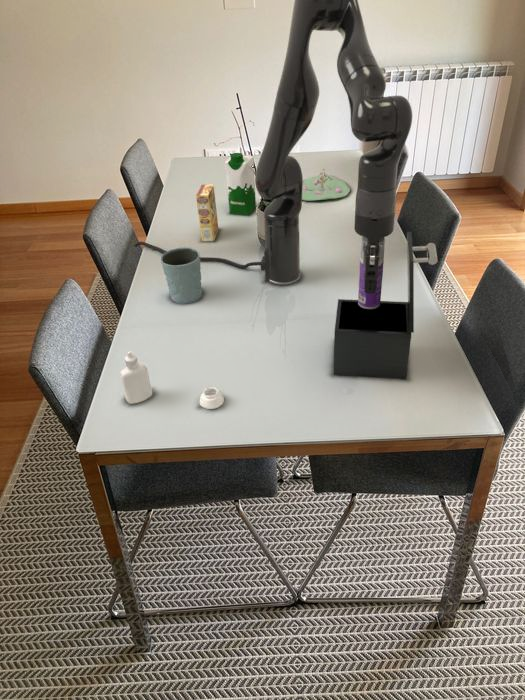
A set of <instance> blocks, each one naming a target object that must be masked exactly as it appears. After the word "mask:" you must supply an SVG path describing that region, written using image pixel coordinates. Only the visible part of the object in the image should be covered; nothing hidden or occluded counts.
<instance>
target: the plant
mask: <svg viewBox="0 0 525 700" xmlns="http://www.w3.org/2000/svg"><path fill="white" fill-rule="evenodd" d="M325 170H326V169H325V168H322V171H323V172H320V173H319V174H318V176H313V177H309V178H306V179H305V180H303V188H302V201H309V202H310V201H323V200H333V199H340V198H344V197H346V196H347V195H348V194H349V193H350V192H351V188H350V186H349V185H348V184H346V183H345V182H344V181H342V180H341V179H338V178H336V177H335V176H332V175H328V174H326V173H325Z"/></svg>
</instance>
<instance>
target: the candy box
mask: <svg viewBox="0 0 525 700" xmlns="http://www.w3.org/2000/svg"><path fill="white" fill-rule="evenodd" d="M195 198H196V208H197V214H198V220H199V229H200V236H201V242H215V239H216V237H217V235H218V232H219V230H220V229H219V221H218V213H217V202H216V193H215V185H214V184H201V186H200V188H199V189H198V191H197V194H196V195H195Z"/></svg>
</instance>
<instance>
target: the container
mask: <svg viewBox="0 0 525 700" xmlns="http://www.w3.org/2000/svg"><path fill="white" fill-rule="evenodd" d="M385 238H386V237H383V238H380V239H379V246H380V245H381V244H382V243H383V251H382V252H381V265H380V266H379V267H378V278H377V280H376V291H375V293H365V291H364V290H365V277H364V273H365V266H364V265H363V255H364V252H363V242H364V243H365V244H366V246H367V238H366V237H363V236H361V246H360V257H359V258H360V259H359V276H358V290H357V291H358V292H357V300H358V305H359V306H360V307H362V308H365V309H375V308H377V307H379V306H380V301H382V289H383V274H384V263H385V242H386V239H385ZM366 255H367V249H366ZM378 255H379V250H378ZM373 272H374V271H373Z"/></svg>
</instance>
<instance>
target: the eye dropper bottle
mask: <svg viewBox="0 0 525 700" xmlns="http://www.w3.org/2000/svg"><path fill="white" fill-rule="evenodd" d="M124 362H125V367H123V368H122V369H121V371H120V372H119V376H120V381H121V385H122V389H123V394H124V397H125V400H126V402H127V403H128V404H130V405H132V404H139V403H142V402H144V401H146V400H147V399H149V398H151V397H152V396H153V389H152V383H151V379H150V374H149V369H148V367H147V365H146V364H145V363H143V362H138V357H137V355H135V354H133V353H132V351H128V352H127V355H126V356H125V357H124Z"/></svg>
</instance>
